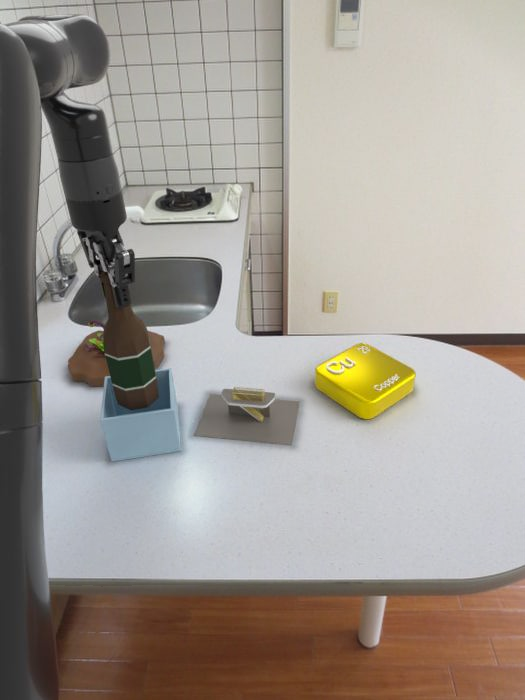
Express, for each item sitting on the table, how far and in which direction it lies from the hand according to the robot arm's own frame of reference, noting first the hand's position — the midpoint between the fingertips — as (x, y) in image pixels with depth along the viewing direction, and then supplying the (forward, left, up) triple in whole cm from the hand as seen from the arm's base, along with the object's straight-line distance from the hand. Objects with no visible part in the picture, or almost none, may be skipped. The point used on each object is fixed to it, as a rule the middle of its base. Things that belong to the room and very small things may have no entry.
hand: (117, 300), depth 81 cm
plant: (+25, +6, -28) cm, 38 cm away
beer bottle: (0, 0, -19) cm, 19 cm away
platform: (0, -19, -28) cm, 34 cm away
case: (0, 0, -28) cm, 28 cm away
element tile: (+4, -43, -28) cm, 52 cm away
